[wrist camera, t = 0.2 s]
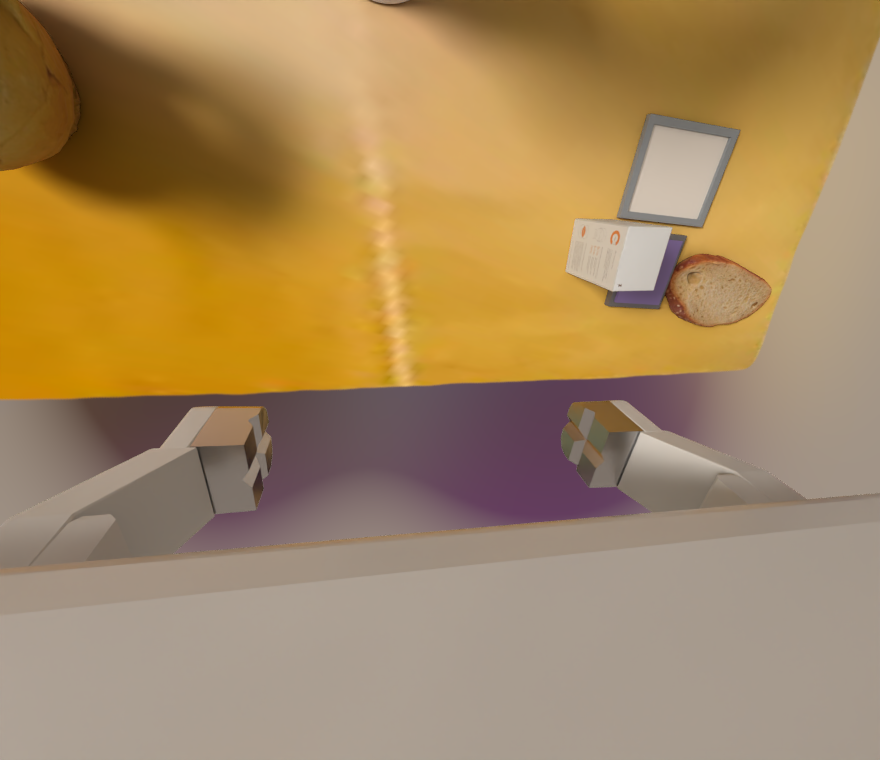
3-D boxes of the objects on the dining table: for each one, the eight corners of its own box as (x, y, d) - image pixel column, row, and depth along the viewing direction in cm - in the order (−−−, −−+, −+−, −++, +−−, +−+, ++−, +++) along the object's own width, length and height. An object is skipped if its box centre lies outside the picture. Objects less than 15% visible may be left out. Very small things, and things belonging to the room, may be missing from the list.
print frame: (647, 114, 50) (651, 113, 50) (735, 130, 53) (740, 130, 53) (616, 217, 56) (619, 217, 55) (698, 226, 59) (702, 227, 59)
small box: (600, 272, 60) (654, 292, 49) (564, 272, 59) (611, 292, 48) (612, 218, 56) (674, 226, 45) (574, 217, 55) (628, 225, 44)
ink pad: (627, 229, 57) (634, 230, 56) (681, 235, 59) (689, 236, 58) (604, 304, 63) (609, 306, 61) (654, 307, 65) (660, 309, 63)
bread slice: (764, 300, 69) (784, 305, 66) (677, 351, 71) (692, 359, 68) (755, 211, 60) (778, 213, 57) (657, 273, 62) (673, 277, 59)
